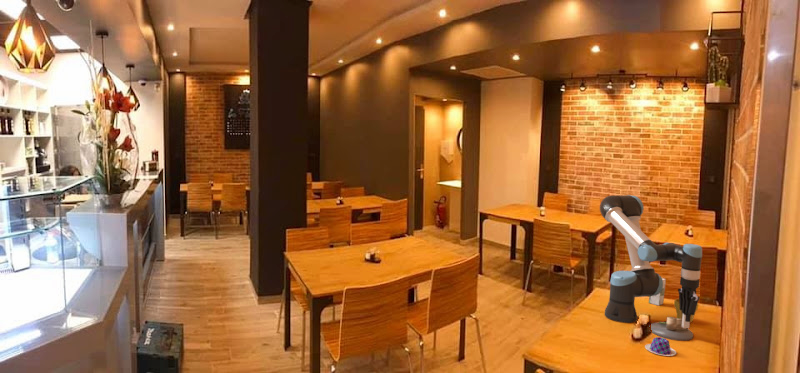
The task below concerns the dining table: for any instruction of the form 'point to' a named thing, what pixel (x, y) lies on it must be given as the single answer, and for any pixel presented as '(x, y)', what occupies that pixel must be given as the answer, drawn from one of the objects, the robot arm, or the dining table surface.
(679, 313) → the plant pot
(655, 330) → the flat grey disc
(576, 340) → the dining table surface
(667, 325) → the tuning peg
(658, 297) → the syrup box
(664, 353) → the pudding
